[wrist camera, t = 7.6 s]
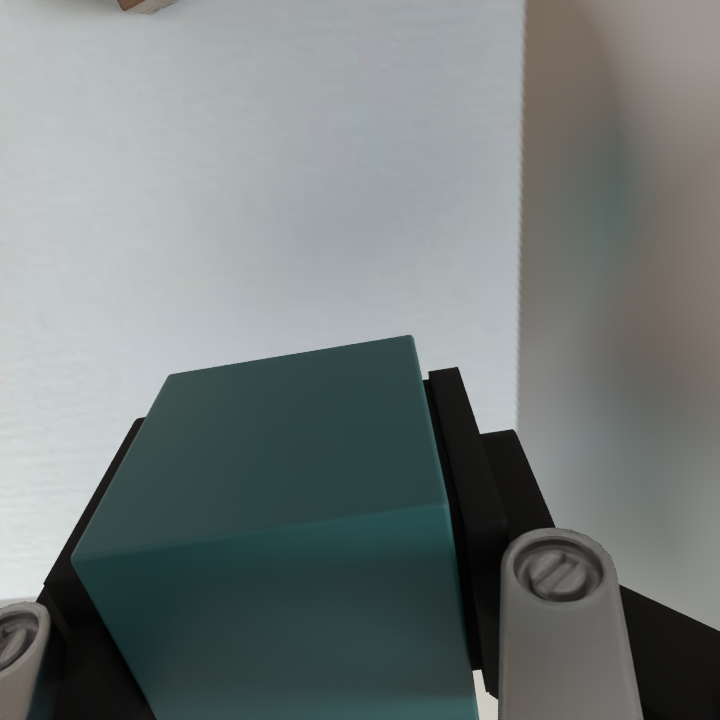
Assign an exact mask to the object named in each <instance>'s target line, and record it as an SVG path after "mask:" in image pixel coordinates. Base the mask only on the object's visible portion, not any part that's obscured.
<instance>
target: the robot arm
mask: <svg viewBox="0 0 720 720" xmlns="http://www.w3.org/2000/svg"><path fill="white" fill-rule="evenodd" d="M428 373H429V379H428V380H423V385H424V390H425V394H426V399H427V404H428V408H429V413H430V418H431V422H432V427H433V432H434V437H435V441H436V446H437V451H438V455H439V460H440V465H441V469H442V474H443V479H444V484H445V488H446V493H447V498H448V502H449V508H450V516H451V523H452V530H453V537H454V544H455V551H456V558H457V565H458V572H459V579H460V587H461V594H462V601H463V608H464V615H465V622H466V629H467V636H468V643H469V650H470V657H471V665H472V671H473V670H482V675H483V679H484V685H485V689H486V692H489V694H490V695H492V696H493V697H495V698H496V699H498V720H720V631H718V630H716V629H714V628H712V627H709V626H707V625H705V624H703V623H701V622H699V621H696V620H694V619H692V618H690V617H688V616H686V615H684V614H682V613H679V612H677V611H675V610H673V609H671V608H669V607H667V606H664V605H662V604H660V603H658V602H656V601H654V600H651V599H649V598H647V597H645V596H643V595H641V594H639V593H637V592H634V591H632V590H630V589H628V588H626V587H623V586H622V585H619V584H618V578H617V573H616V568H615V566H614V563H613V561H612V559H611V556H610V555H609V554H608V553H607V551H606V550H605V549H604V548H603V547H602V546H601V545H600V544H599V543H597V542H596V541H594V540H593V539H591V538H590V537H588V536H586V535H584V534H581V533H578V532H575V531H572V530H568V529H560V528H556V527H555V525H554V522H553V520H552V517H551V515H550V513H549V510H548V508H547V506H546V503H545V501H544V498H543V496H542V494H541V491H540V489H539V486H538V484H537V482H536V479H535V477H534V475H533V472H532V470H531V467H530V465H529V463H528V460H527V458H526V455H525V453H524V451H523V448H522V446H521V444H520V441H519V439H518V436H517V434H516V432H515V431H514V430H513V429H511V430H505V431H498V432H491V433H485V434H480V433H479V430H478V427H477V424H476V421H475V418H474V414H473V411H472V408H471V405H470V402H469V399H468V396H467V393H466V390H465V387H464V384H463V381H462V378H461V375H460V372H459V369H458V367H454V368H448V369H441V370H435V371H429V372H428ZM145 418H146V417H143V418H138V419H136V420H135V422H134V423H133V425H132V427H131V429H130V430H129V432H128V434H127V436H126V437H125V439H124V441H123V443H122V445H121V446H120V448H119V450H118V452H117V453H116V455H115V457H114V459H113V461H112V462H111V464H110V466H109V468H108V469H107V471H106V473H105V475H104V477H103V478H102V480H101V482H100V484H99V486H98V487H97V489H96V491H95V493H94V494H93V496H92V498H91V500H90V502H89V503H88V505H87V507H86V509H85V510H84V512H83V514H82V516H81V518H80V519H79V521H78V523H77V525H76V526H75V528H74V530H73V532H72V534H71V535H70V537H69V539H68V541H67V542H66V544H65V546H64V548H63V550H62V551H61V553H60V555H59V557H58V558H57V560H56V562H55V564H54V566H53V567H52V569H51V571H50V573H49V574H48V576H47V578H46V580H45V582H44V583H43V584H44V585H45V586H44V588H43V590H42V591H41V593H40V595H39V597H38V598H37V600H36V602H20V603H16V604H11V605H8V606H5V607H3V608H0V720H157V719H156V717H155V716H154V714H153V712H152V710H151V708H150V706H149V705H148V703H147V701H146V699H145V697H144V695H143V694H142V692H141V690H140V688H139V686H138V684H137V683H136V681H135V679H134V677H133V675H132V673H131V671H130V670H129V668H128V666H127V664H126V662H125V660H124V659H123V657H122V655H121V653H120V651H119V649H118V648H117V646H116V644H115V642H114V640H113V638H112V637H111V635H110V633H109V631H108V629H107V627H106V626H105V624H104V622H103V620H102V618H101V616H100V615H99V613H98V611H97V609H96V607H95V605H94V604H93V602H92V600H91V598H90V596H89V594H88V593H87V591H86V589H85V587H84V585H83V583H82V582H81V580H80V578H79V576H78V574H77V572H76V570H75V569H74V567H73V565H72V563H71V555H72V553H73V552H74V550H75V548H76V546H77V544H78V542H79V540H80V539H81V537H82V535H83V533H84V531H85V529H86V527H87V526H88V524H89V522H90V520H91V518H92V516H93V515H94V513H95V511H96V509H97V507H98V505H99V503H100V502H101V500H102V498H103V496H104V494H105V492H106V490H107V489H108V487H109V485H110V483H111V481H112V479H113V477H114V476H115V474H116V472H117V470H118V468H119V466H120V464H121V463H122V461H123V459H124V457H125V455H126V453H127V451H128V450H129V448H130V446H131V444H132V442H133V440H134V438H135V437H136V435H137V433H138V431H139V429H140V427H141V425H142V424H143V422H144V420H145Z"/></svg>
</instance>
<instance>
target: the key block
mask: <svg viewBox="0 0 720 720" xmlns="http://www.w3.org/2000/svg"><path fill="white" fill-rule="evenodd" d="M71 563H72V565H73V567H74V569H75V570H76V572H77V574H78V576H79V578H80V580H81V582H82V583H83V585H84V587H85V589H86V591H87V593H88V594H89V596H90V598H91V600H92V602H93V604H94V605H95V607H96V609H97V611H98V613H99V615H100V616H101V618H102V620H103V622H104V624H105V626H106V627H107V629H108V631H109V633H110V635H111V637H112V638H113V640H114V642H115V644H116V646H117V648H118V649H119V651H120V653H121V655H122V657H123V659H124V660H125V662H126V664H127V666H128V668H129V670H130V671H131V673H132V675H133V677H134V679H135V681H136V683H137V684H138V686H139V688H140V690H141V692H142V694H143V695H144V697H145V699H146V701H147V703H148V705H149V706H150V708H151V710H152V712H153V714H154V716H155V717H156V719H157V720H479V714H478V707H477V700H476V693H475V686H474V680H473V672H472V665H471V657H470V650H469V643H468V636H467V629H466V622H465V615H464V608H463V601H462V594H461V587H460V579H459V572H458V565H457V558H456V551H455V544H454V537H453V530H452V523H451V516H450V508H449V502H448V498H447V493H446V488H445V484H444V479H443V474H442V469H441V465H440V460H439V455H438V451H437V446H436V441H435V437H434V432H433V427H432V422H431V418H430V413H429V408H428V404H427V399H426V394H425V390H424V385H423V380H422V375H421V371H420V366H419V361H418V357H417V352H416V347H415V343H414V338H413V337H412V336H411V335H406V336H400V337H394V338H388V339H381V340H375V341H369V342H363V343H357V344H351V345H345V346H339V347H333V348H327V349H321V350H315V351H309V352H303V353H297V354H291V355H285V356H279V357H273V358H267V359H261V360H255V361H249V362H242V363H236V364H230V365H224V366H218V367H212V368H206V369H200V370H194V371H188V372H182V373H176V374H171V375H169V376H168V377H167V379H166V381H165V383H164V385H163V386H162V388H161V390H160V392H159V394H158V396H157V398H156V399H155V401H154V403H153V405H152V407H151V409H150V411H149V412H148V414H147V416H146V418H145V420H144V422H143V424H142V425H141V427H140V429H139V431H138V433H137V435H136V437H135V438H134V440H133V442H132V444H131V446H130V448H129V450H128V451H127V453H126V455H125V457H124V459H123V461H122V463H121V464H120V466H119V468H118V470H117V472H116V474H115V476H114V477H113V479H112V481H111V483H110V485H109V487H108V489H107V490H106V492H105V494H104V496H103V498H102V500H101V502H100V503H99V505H98V507H97V509H96V511H95V513H94V515H93V516H92V518H91V520H90V522H89V524H88V526H87V527H86V529H85V531H84V533H83V535H82V537H81V539H80V540H79V542H78V544H77V546H76V548H75V550H74V552H73V553H72V555H71Z"/></svg>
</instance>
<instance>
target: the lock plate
mask: <svg viewBox="0 0 720 720" xmlns="http://www.w3.org/2000/svg"><path fill="white" fill-rule="evenodd" d="M117 1H118V3H119V5H120V7H121V9H122V10H123V11H125V12H132V13H140V14H148V15H151V14H153V13H155V12H157V11H159V10H161V9H163V8H165V7H166V6H168V5H170V4H172V3H174V2H176V1H178V0H117Z"/></svg>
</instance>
